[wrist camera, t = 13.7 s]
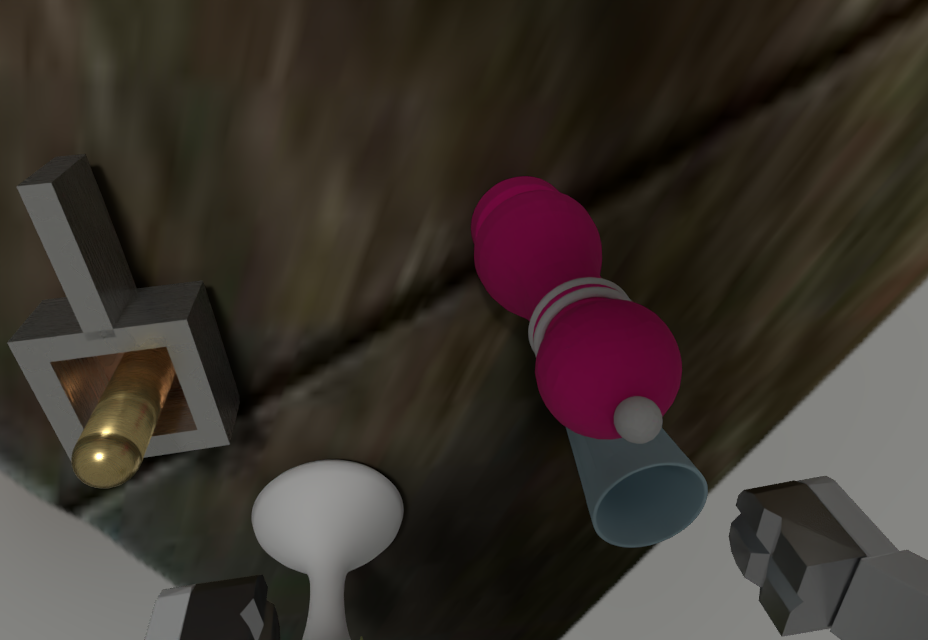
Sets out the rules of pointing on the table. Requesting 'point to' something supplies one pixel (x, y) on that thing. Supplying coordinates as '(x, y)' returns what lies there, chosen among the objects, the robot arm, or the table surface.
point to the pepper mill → (574, 313)
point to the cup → (638, 488)
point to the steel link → (115, 322)
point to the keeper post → (124, 416)
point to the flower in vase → (327, 530)
